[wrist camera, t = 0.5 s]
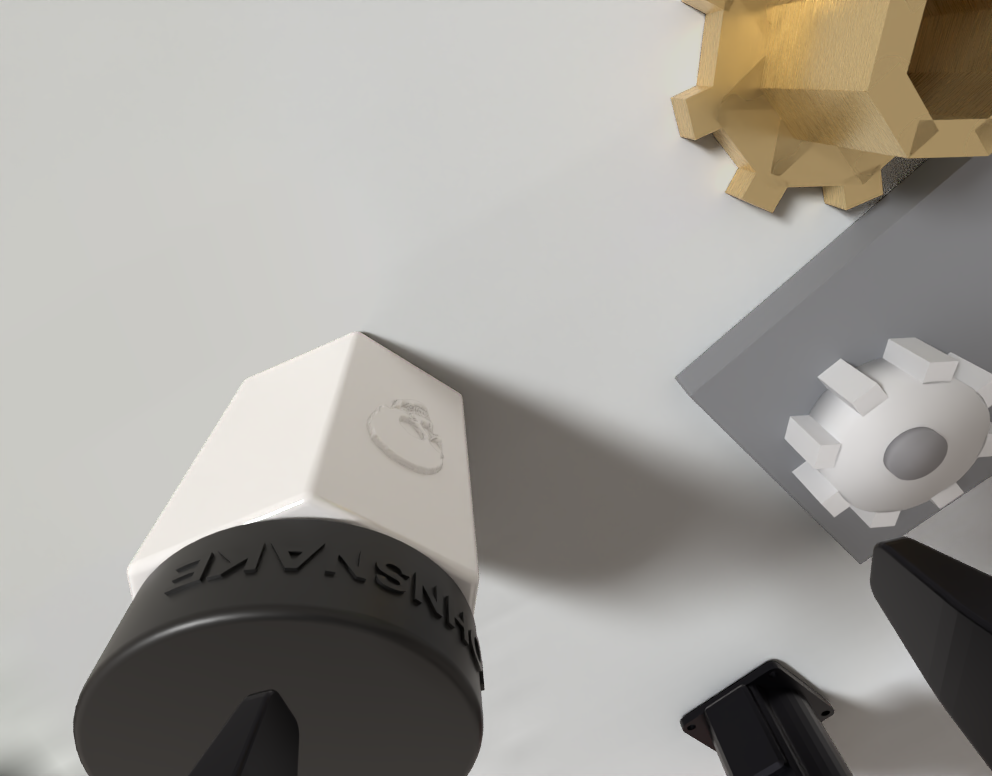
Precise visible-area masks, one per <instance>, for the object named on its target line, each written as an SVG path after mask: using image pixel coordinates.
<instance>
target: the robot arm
mask: <svg viewBox="0 0 992 776" xmlns="http://www.w3.org/2000/svg"><path fill="white" fill-rule="evenodd" d="M870 586H871V589H872V592H873V595H874V597H875V599H876V600H877V602H878V604H879V605H880V607H881V608H882V610H883V612H884V613H885V615H886V616H887V618H888V620H889V621H890V623H891V625H892V626H893V628H894V629H895V631H896V633H897V634H898V636H899V637H900V639H901V641H902V642H903V644H904V646H905V647H906V649H907V650H908V652H909V654H910V655H911V657H912V659H913V660H914V662H915V663H916V665H917V667H918V668H919V670H920V671H921V673H922V675H923V676H924V678H925V680H926V681H927V683H928V684H929V686H930V687H931V689H932V690H933V692H934V693H935V695H936V697H937V698H938V700H939V701H940V702H941V704H942V705H943V707H944V708H945V709H946V711H947V712H948V713H949V715H950V716H951V718H952V719H953V720H954V722H955V723H956V724H957V725H958V727H959V728H960V729H961V731H962V732H963V733H964V735H965V736H966V737H967V739H968V740H969V741H970V743H971V744H972V745H973V747H974V748H975V749H976V751H977V752H978V753H979V755H980V756H981V757H982V759H983V760H984V761H985V762H986V764H987V765H988V766H989V768H990V769H991V770H992V576H990V575H988V574H986V573H984V572H981V571H979V570H977V569H975V568H973V567H971V566H969V565H967V564H964V563H962V562H960V561H958V560H956V559H954V558H952V557H950V556H947V555H945V554H943V553H941V552H939V551H937V550H935V549H933V548H930V547H928V546H926V545H924V544H922V543H920V542H918V541H916V540H913V539H911V538H907V537H897V538H893V539H888V540H884V541H880V542H878V543H877V544H876V545H875V546H874V548H873V556H872V565H871V574H870ZM833 713H834V709H833V708H832V706H831V704H830V703H829V702H828V701H827V700H826V699H824V698H823V697H822V696H820V695H819V694H818V693H816V692H815V691H814V690H812V689H811V688H810V687H808V686H807V685H806V684H805V683H803V682H802V681H801V680H799V679H798V678H797V677H795V676H794V675H793V674H791V673H790V672H789V671H787V670H786V669H785V668H784V667H782V666H781V665H780V664H778V663H777V662H768V663H766V664H764V665H762V666H761V667H759V668H758V669H756V670H755V671H753V672H752V673H750V674H749V675H747V676H745V677H744V678H742V679H741V680H739V681H738V682H736V683H735V684H733V685H732V686H730V687H729V688H727V689H726V690H724V691H723V692H721V693H720V694H718V695H716V696H715V697H713V698H712V699H710V700H709V701H707V702H706V703H704V704H703V705H701V706H700V707H698V708H697V709H695V710H694V711H692V712H691V713H689V714H688V715H686V716H684V717H683V718H682V719H681V720H680V724H681V727H682V729H683V731H684V732H685V733H687V734H688V735H690V736H692V737H693V738H695V739H697V740H698V741H700V742H702V743H703V744H705V745H707V746H708V747H710V748H711V749H713V750H715V751H716V752H717V754H718V756H719V759H720V761H721V763H722V766H723V768H724V770H725V773H726V775H727V776H853V775H852V773H851V772H850V770H849V768H848V767H847V765H846V763H845V762H844V760H843V758H842V757H841V755H840V753H839V752H838V750H837V748H836V747H835V745H834V743H833V742H832V740H831V738H830V737H829V735H828V733H827V732H826V730H825V728H824V727H823V725H822V723H821V722H822V721H823V720H825V719H827V718H828V717H830V716H831V715H833ZM298 755H299V727H298V723H297V721H296V718H295V717H294V715H293V714H292V712H291V711H290V709H289V708H288V706H287V705H286V703H285V702H284V700H283V699H282V697H281V696H280V694H279V693H278V692H277V691H275V690H273V689H269V690H265V691H261V692H257V693H253V694H250V695H248V696H247V697H245V698H244V699H243V700H242V702H241V703H240V704H239V706H238V707H237V708H236V710H235V711H234V712H233V714H232V715H231V717H230V718H229V719H228V721H227V722H226V723H225V725H224V726H223V728H222V729H221V730H220V732H219V733H218V734H217V736H216V737H215V739H214V740H213V741H212V743H211V744H210V745H209V747H208V748H207V750H206V751H205V752H204V754H203V755H202V756H201V758H200V759H199V761H198V762H197V763H196V765H195V766H194V767H193V769H192V770H191V772H190V773H189V774H188V776H297V775H298Z"/></svg>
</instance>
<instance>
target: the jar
mask: <svg viewBox="0 0 992 776" xmlns="http://www.w3.org/2000/svg"><path fill="white" fill-rule="evenodd" d="M127 577H128V582H129V586H130V591H131V596H132V600H133V601H132V603H131V605H130V606H129V608H128V610H127V612H126V613H125V615H124V617H123V619H122V620H121V622H120V624H119V626H118V627H117V629H116V631H115V633H114V634H113V636H112V638H111V640H110V641H109V643H108V645H107V647H106V648H105V650H104V652H103V653H102V655H101V657H100V659H99V660H98V662H97V664H96V666H95V667H94V669H93V671H92V673H91V674H90V676H89V678H88V680H87V681H86V683H85V685H84V687H83V689H82V691H81V693H80V696H79V699H78V702H77V705H76V709H75V714H74V720H73V733H74V739H75V744H76V750H77V752H78V755H79V758H80V761H81V763H82V765H83V767H84V768H85V770H86V772H87V774H88V775H89V776H188V774H189V773H190V772H191V770H192V769H193V767H194V766H195V765H196V763H197V762H198V761H199V759H200V758H201V756H202V755H203V754H204V752H205V751H206V750H207V748H208V747H209V745H210V744H211V743H212V741H213V740H214V739H215V737H216V736H217V734H218V733H219V732H220V730H221V729H222V728H223V726H224V725H225V723H226V722H227V721H228V719H229V718H230V717H231V715H232V714H233V712H234V711H235V710H236V708H237V707H238V706H239V704H240V703H241V702H242V700H243V699H244V698H245V697H247V696H248V695H250V694H253V693H257V692H261V691H265V690H269V689H273V690H275V691H277V692H278V693H279V694H280V696H281V697H282V699H283V700H284V702H285V703H286V705H287V706H288V708H289V709H290V711H291V712H292V714H293V715H294V717H295V718H296V721H297V723H298V727H299V755H298V775H297V776H467V775H468V773H469V772H470V770H471V769H472V767H473V765H474V763H475V761H476V759H477V756H478V753H479V750H480V747H481V742H482V736H483V710H482V697H481V690H484V679H483V667H482V659H481V651H480V646H479V641H478V638H477V634H476V626H475V621H474V610H475V604H476V598H477V592H478V585H479V567H478V556H477V545H476V535H475V524H474V514H473V503H472V492H471V482H470V471H469V460H468V450H467V439H466V428H465V418H464V407H463V398H462V395H461V394H460V393H459V392H457V391H455V390H454V389H452V388H450V387H449V386H447V385H446V384H444V383H442V382H441V381H439V380H437V379H436V378H434V377H433V376H431V375H429V374H428V373H426V372H424V371H423V370H421V369H420V368H418V367H416V366H415V365H413V364H411V363H410V362H408V361H406V360H405V359H403V358H402V357H400V356H398V355H397V354H395V353H393V352H392V351H390V350H389V349H387V348H385V347H384V346H382V345H380V344H379V343H377V342H375V341H374V340H372V339H371V338H369V337H367V336H366V335H364V334H362V333H361V332H357V331H356V332H352V333H349V334H347V335H345V336H343V337H340V338H338V339H336V340H333V341H331V342H329V343H327V344H324V345H322V346H320V347H317V348H315V349H313V350H311V351H308V352H306V353H304V354H301V355H299V356H297V357H295V358H292V359H290V360H288V361H285V362H283V363H281V364H279V365H276V366H274V367H272V368H269V369H267V370H265V371H263V372H260V373H258V374H256V375H253V376H251V377H249V378H247V379H245V380H244V381H243V382H242V384H241V386H240V387H239V389H238V390H237V392H236V394H235V395H234V397H233V399H232V400H231V402H230V403H229V405H228V407H227V408H226V410H225V411H224V413H223V415H222V416H221V418H220V419H219V421H218V423H217V424H216V426H215V427H214V429H213V431H212V432H211V434H210V435H209V437H208V439H207V440H206V442H205V443H204V445H203V447H202V448H201V450H200V452H199V453H198V455H197V456H196V458H195V460H194V461H193V463H192V464H191V466H190V468H189V469H188V471H187V472H186V474H185V476H184V477H183V479H182V480H181V482H180V484H179V485H178V487H177V488H176V490H175V492H174V493H173V495H172V497H171V498H170V500H169V501H168V503H167V505H166V506H165V508H164V509H163V511H162V513H161V514H160V516H159V517H158V519H157V521H156V522H155V524H154V525H153V527H152V529H151V530H150V532H149V533H148V535H147V537H146V538H145V540H144V541H143V543H142V545H141V546H140V548H139V550H138V551H137V553H136V554H135V556H134V558H133V559H132V561H131V562H130V564H129V566H128V568H127Z"/></svg>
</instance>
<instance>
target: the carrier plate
mask: <svg viewBox="0 0 992 776" xmlns="http://www.w3.org/2000/svg"><path fill="white" fill-rule="evenodd" d="M675 379H676V380H677V381H678V383H679V384H680V385H681V386H682V388H683V389H684V390H685V391H686V393H687V394H688V395H689V396H690V397H691V398H692V399H693V400H694V401H695V402H696V403H697V404H698V405H699V406H700V407H701V408H702V409H703V410H704V411H705V412H706V413H707V414H708V415H709V416H710V417H711V418H712V419H713V420H714V421H715V422H716V423H717V424H718V425H719V426H720V427H721V428H722V429H723V430H724V431H725V432H726V433H727V434H728V435H729V436H730V437H731V438H732V439H733V440H734V441H735V442H736V443H737V444H738V445H739V446H740V447H741V448H743V449H744V450H745V451H746V452H747V453H748V454H749V455H750V456H751V457H752V458H753V459H754V460H755V461H756V462H757V463H758V464H759V465H760V466H761V467H762V468H763V469H764V470H765V471H766V472H767V473H768V474H769V475H770V476H771V477H772V478H773V479H774V480H775V481H776V482H777V483H778V484H779V485H780V486H781V487H782V488H783V489H784V490H785V491H786V492H787V493H788V494H789V495H790V496H791V497H792V498H793V499H794V500H795V501H796V502H797V503H798V504H799V505H800V506H801V507H803V508H804V509H805V510H806V511H807V512H808V513H809V514H810V515H811V516H812V517H813V518H814V519H815V520H816V521H817V522H818V523H819V524H820V525H821V526H822V527H823V528H824V529H825V530H826V531H827V532H828V533H829V534H830V535H831V536H832V537H833V538H834V539H835V540H836V541H837V542H838V543H839V544H840V545H841V546H842V547H843V548H844V549H845V550H846V551H847V552H848V553H849V554H850V555H851V556H852V557H853V558H854V559H855V560H856V561H857V562H858V563H859V564H862V563H863V562H864V561H866V560H867V559H869V558H870V557H872V556H873V548H874V546H875V545H876V544H877V543H878V542H880V541H884V540H888V539H893V538H897V537H902V536H903V535H904V534H906V533H907V532H909V531H910V530H912V529H913V528H915V527H916V526H918V525H919V524H921V523H922V522H924V521H925V520H927V519H928V518H930V517H931V516H933V515H934V514H936V513H937V512H939V511H940V510H941V509H943V508H944V507H946V506H947V505H949V504H950V503H952V502H953V501H955V500H956V499H958V498H959V497H961V496H962V495H964V494H965V493H967V492H968V491H970V490H971V489H973V488H974V487H976V486H977V485H978V484H980V483H981V482H983V481H984V480H986V479H987V478H989V477H990V476H992V153H991V154H990V155H989V156H974V157H940V158H929V159H928V160H926V161H925V162H924V163H923V164H922V165H921V166H920V167H918V168H917V169H916V170H915V171H914V172H913V173H911V174H910V175H909V176H908V177H907V178H906V179H904V180H903V181H902V182H901V183H900V184H899V185H898V186H896V187H895V188H894V189H893V190H892V191H891V192H889V193H888V194H887V195H886V196H885V197H884V198H882V199H881V200H880V201H879V202H878V203H877V204H876V205H874V206H873V207H872V208H871V209H870V210H869V211H867V212H866V213H865V214H864V215H863V216H862V217H860V218H859V219H858V220H857V221H856V222H855V223H854V224H852V225H851V226H850V227H849V228H848V229H847V230H845V231H844V232H843V233H842V234H841V235H840V236H838V237H837V238H836V239H835V240H834V241H833V242H832V243H830V244H829V245H828V246H827V247H826V248H825V249H823V250H822V251H821V252H820V253H819V254H818V255H816V256H815V257H814V258H813V259H812V260H811V261H810V262H808V263H807V264H806V265H805V266H804V267H803V268H801V269H800V270H799V271H798V272H797V273H796V274H794V275H793V276H792V277H791V278H790V279H789V280H788V281H786V282H785V283H784V284H783V285H782V286H781V287H779V288H778V289H777V290H776V291H775V292H774V293H772V294H771V295H770V296H769V297H768V298H767V299H766V300H764V301H763V302H762V303H761V304H760V305H759V306H757V307H756V308H755V309H754V310H753V311H752V312H750V313H749V314H748V315H747V316H746V317H745V318H744V319H742V320H741V321H740V322H739V323H738V324H737V325H735V326H734V327H733V328H732V329H731V330H730V331H728V332H727V333H726V334H725V335H724V336H723V337H722V338H720V339H719V340H718V341H717V342H716V343H715V344H713V345H712V346H711V347H710V348H709V349H708V350H706V351H705V352H704V353H703V354H702V355H701V356H700V357H698V358H697V359H696V360H695V361H694V362H693V363H691V364H690V365H689V366H688V367H687V368H686V369H684V370H683V371H682V372H681V373H680V374H679V375H678V376H676V377H675Z"/></svg>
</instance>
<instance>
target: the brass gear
mask: <svg viewBox="0 0 992 776" xmlns="http://www.w3.org/2000/svg"><path fill="white" fill-rule="evenodd" d="M682 2H684V3H686V4H688V5H690V6H691V7H693V8H695V9H697V10H699V11H701V12H703V13H705V14H706V16H705V24H704V32H703V40H702V47H701V55H700V63H699V71H698V79H697V86H695V87H693V88H691V89H688V90H686V91H684V92H682V93H680V94H678V95H676V96H674V97H671V101H672V105H673V109H674V113H675V117H676V121H677V125H678V129H679V133H680V137H684V138H688V139H692V140H697V139H699V138H701V137H704V136H706V135H708V134H710V133H712V134H713V135H714V137H715V138H716V139H717V141H718V142H719V143H720V144H721V146H722V147H723V148H724V150H725V151H726V152H727V154H728V155H729V156H730V158H731V159H732V160H733V161H734V163H735V164H736V165H737V167H738V169H737V171H736V173H735V175H734V177H733V179H732V181H731V182H730V184H729V186H728V188H727V190H726V192H725V193H727V194H729V195H731V196H734V197H736V198H738V199H740V200H743V201H745V202H747V203H749V204H752V205H754V206H756V207H759V208H761V209H764V210H766V211H769V212H771V213H773V211H774V210H775V208H776V206H777V204H778V203H779V201H780V199H781V198H782V196H783V194H784V192H785V191H786V189H787V187H816V186H822V188H823V195H824V202H825V204H829V205H832V206H835V207H838V208H841V209H844V210H848V209H851V208H853V207H855V206H858V205H860V204H862V203H864V202H867V201H869V200H871V199H874V198H876V197H878V196H881V195H883V188H882V177H881V169H882V168H883V167H884V166H885V165H886V164H887V163H888V162H889V161H891V160H892V159H893V158H894V157H895V156H897V157H903V158H940V157H974V156H989V155H990V154H991V153H992V0H682Z"/></svg>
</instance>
